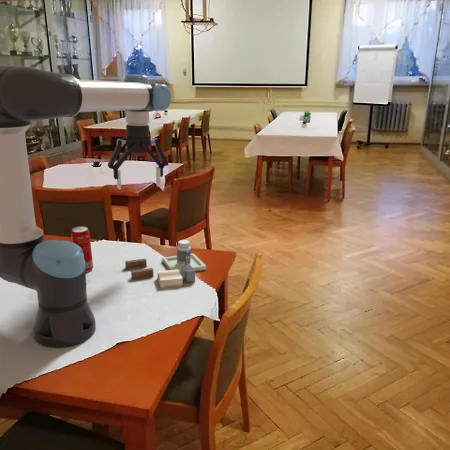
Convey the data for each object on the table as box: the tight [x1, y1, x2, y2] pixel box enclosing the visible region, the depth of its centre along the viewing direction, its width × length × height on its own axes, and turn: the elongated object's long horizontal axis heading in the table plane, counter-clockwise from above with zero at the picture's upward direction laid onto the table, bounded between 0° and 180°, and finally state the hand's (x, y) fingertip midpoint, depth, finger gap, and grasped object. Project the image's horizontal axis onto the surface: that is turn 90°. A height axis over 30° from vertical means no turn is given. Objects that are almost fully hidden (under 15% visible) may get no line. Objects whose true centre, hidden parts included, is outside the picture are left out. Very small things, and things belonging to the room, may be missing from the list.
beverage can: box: [70, 225, 94, 273], centre depth 151 cm, size 6×6×15 cm
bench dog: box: [181, 265, 196, 284], centre depth 149 cm, size 5×3×4 cm, turn 25°
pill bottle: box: [176, 239, 192, 266], centre depth 158 cm, size 5×5×8 cm
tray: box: [161, 253, 207, 274], centre depth 160 cm, size 12×12×2 cm
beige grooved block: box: [156, 269, 184, 289], centre depth 147 cm, size 7×7×3 cm
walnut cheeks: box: [124, 258, 154, 281], centre depth 153 cm, size 10×7×2 cm
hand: (139, 187), depth 155 cm, fingers open, 13 cm apart
